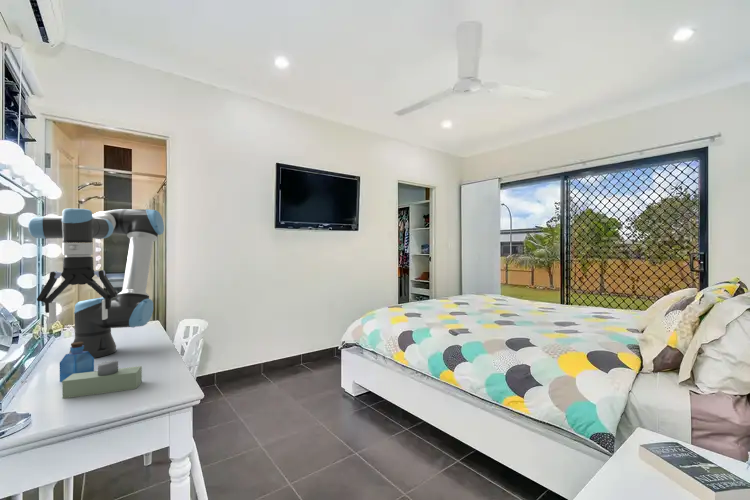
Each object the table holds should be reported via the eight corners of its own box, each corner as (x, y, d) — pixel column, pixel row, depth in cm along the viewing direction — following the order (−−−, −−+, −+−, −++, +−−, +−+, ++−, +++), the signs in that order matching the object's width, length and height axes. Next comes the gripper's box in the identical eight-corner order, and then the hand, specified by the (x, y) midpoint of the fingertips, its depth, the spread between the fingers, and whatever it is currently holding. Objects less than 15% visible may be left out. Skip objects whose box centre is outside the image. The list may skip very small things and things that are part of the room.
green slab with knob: (84, 380, 113) (84, 356, 113) (148, 372, 119) (148, 350, 120) (62, 398, 99) (62, 370, 99) (136, 388, 106) (135, 362, 106)
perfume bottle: (74, 382, 111) (74, 345, 111) (59, 381, 112) (59, 345, 112) (94, 376, 117) (93, 341, 117) (79, 374, 118) (79, 340, 118)
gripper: (21, 257, 103) (22, 327, 104) (121, 255, 113) (122, 319, 113) (34, 256, 110) (35, 321, 111) (127, 255, 120) (128, 315, 120)
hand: (79, 320), depth 112 cm, fingers open, 13 cm apart
